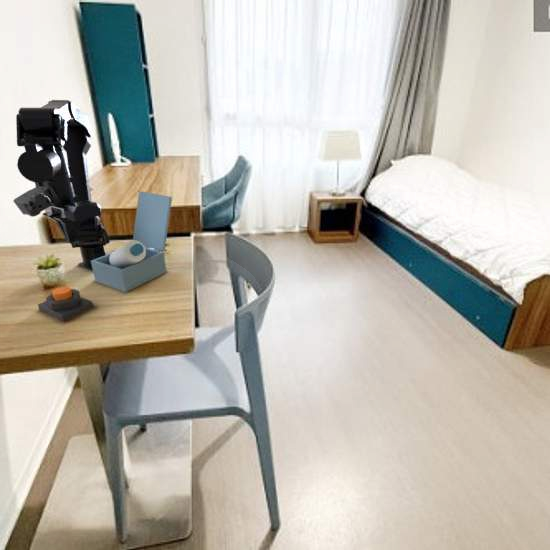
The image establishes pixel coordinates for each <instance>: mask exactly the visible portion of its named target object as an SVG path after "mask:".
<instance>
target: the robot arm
mask: <svg viewBox="0 0 550 550" xmlns="http://www.w3.org/2000/svg"><path fill="white" fill-rule="evenodd" d="M15 117H16V119H15V121H16V122H15V123H16V145H17V147H24V150H25V151H24V152H23V153H21V154H20V155H19V156H18V158H17V163H16V166H17V169H18V171H19V173H20V175H21V176H22V177H23V178H25V179H26V180H27V181H29V182H32V183H34V185H35V187H33V188H31V189H29V190H27V191H26V192H24V193H22V194H20V195H19V196H17V197H15V198H14V199H13V203H14V204H15V205H16V207H17V208H18V210H19V211H20V212H21V214H22V215H25V216H29V217H32V218H33V217H37V216H38V215H40V214H41V213H42V212H43V211H44V212H43V213H42V215H43V216H44V217H46V218H48V219H50V220H52V221H53V222H54V223H55V224H56V226H57V228H58V229H59V231H60V232H61V234H62V236H63V237H64V238H65V240H66V241H67V243H68V244H70V245H71V248H72V249H75V248H79V251H80V255H81V259H82V262H79V263H78V264H77V266H78V267H81V268H84V269H87V270H90V271H93V269H92V264H91V261H92V260H94V259H97V258H100V257H102V256H105V255H107V253H106V250H105V247H106V246H107V245H108V244H110V237H109V234H108V231H107V229H106V228H105V226H104V225H103V223H102V221H101V218H100V217H99V216H102V214H103V212H102V207H101V205H100V204H99V203H97V202H96V201H92V193H91V185H90V178H89V177H90V176H89V169H88V162H87V155H88V153H89V151H90V149H91V147H92V138H93V129H92V125H91V123H90V121H89V119H88V116H87V115H86V114H85V113H83V112H82V111H81V110H80V109H78V108H77V107H76V105H75V104H74V102H73V100H72V101H70V100H68V99H51V100H48V101H47V103H46V104H45V105H42V106H41V107H20V108H19V110H18V113H17V114H16V116H15ZM105 253H106V254H105Z"/></svg>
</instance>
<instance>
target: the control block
mask: <svg viewBox="0 0 550 550" xmlns="http://www.w3.org/2000/svg"><path fill="white" fill-rule="evenodd" d="M71 292H72V297H71V298H68V299H66V300H62V301H55V300H54V297H53V294H52V293H50V294H48V295H47V297H45V301H43V302H40V303H38V304H37V307H38V310H39V311H40V312H41V313H43V314H46V315H48V316H50V317H52V318H54V319H57V320H59V321H60V322H63V323H65V322H67V321H69V320H72V319H73V318H75V317H77V316H79V315H81V314H83V313H85V312H87V311H89V310H91V309H93V308H94V305H93V301H91V300H90V299H88V298H87V299H86V298H84V297H82V296H81V293H80V291H79V290H78V289H76V288H71Z"/></svg>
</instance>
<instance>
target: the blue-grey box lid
mask: <svg viewBox="0 0 550 550" xmlns="http://www.w3.org/2000/svg"><path fill="white" fill-rule="evenodd" d="M172 202H173V197H172V196H170V195H165V194H158V193H152V192H146V191H141V190H139V191H138V197H137V205H136V213H135V220H134V227H133V228H134V229H133V236H132V240H137V241H139V242H141V243H142V244H143V245H144V247H145V248H148V247H150V248H154V250H156V251H159V250H160V251H162V252H166V251H165V249H166V244H167V236H168V229H169V222H170V214H171V210H172V209H171V208H172Z"/></svg>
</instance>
